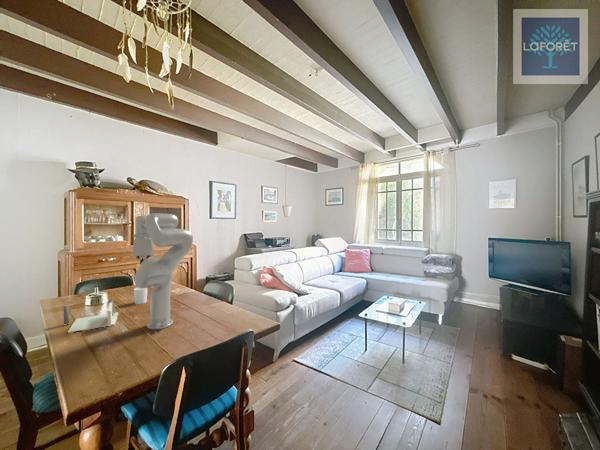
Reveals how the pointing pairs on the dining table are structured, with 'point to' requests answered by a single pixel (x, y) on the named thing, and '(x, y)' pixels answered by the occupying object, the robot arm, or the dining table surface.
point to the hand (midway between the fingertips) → (143, 266)
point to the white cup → (140, 295)
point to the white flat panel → (110, 314)
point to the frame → (89, 320)
